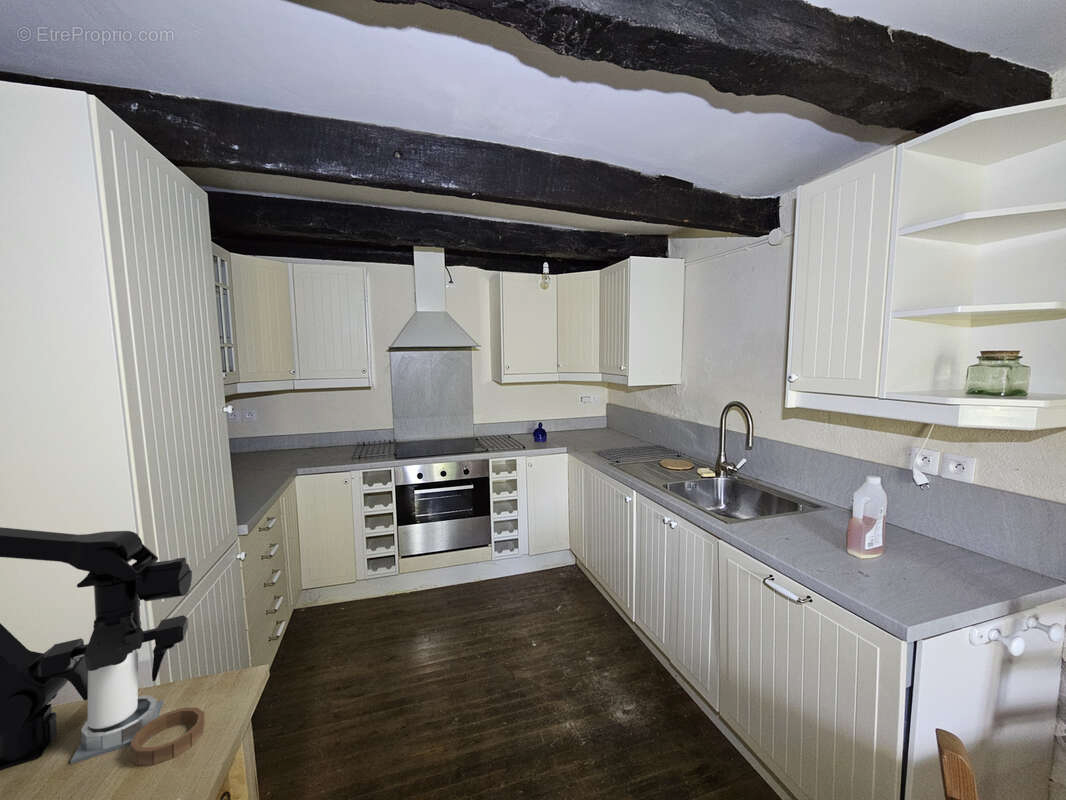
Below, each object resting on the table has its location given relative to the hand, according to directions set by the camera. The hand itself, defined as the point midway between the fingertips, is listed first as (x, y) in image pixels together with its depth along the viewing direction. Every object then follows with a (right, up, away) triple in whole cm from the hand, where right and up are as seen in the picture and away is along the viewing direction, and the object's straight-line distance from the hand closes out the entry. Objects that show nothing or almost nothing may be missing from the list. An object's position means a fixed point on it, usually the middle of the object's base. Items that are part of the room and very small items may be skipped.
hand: (121, 689), depth 78 cm
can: (-1, -5, 0) cm, 5 cm away
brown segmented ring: (+10, -8, -2) cm, 13 cm away
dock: (0, -8, 0) cm, 8 cm away
